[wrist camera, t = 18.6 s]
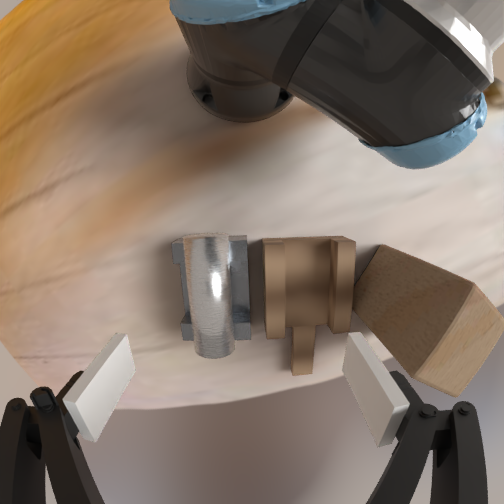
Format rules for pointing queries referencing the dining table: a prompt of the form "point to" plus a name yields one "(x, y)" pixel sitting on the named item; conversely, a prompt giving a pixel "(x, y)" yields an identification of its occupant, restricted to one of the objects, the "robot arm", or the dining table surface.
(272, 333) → the wooden clevis bracket
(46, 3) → the dining table surface
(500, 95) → the dining table surface
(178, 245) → the v block
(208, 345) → the axle
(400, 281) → the wooden block
